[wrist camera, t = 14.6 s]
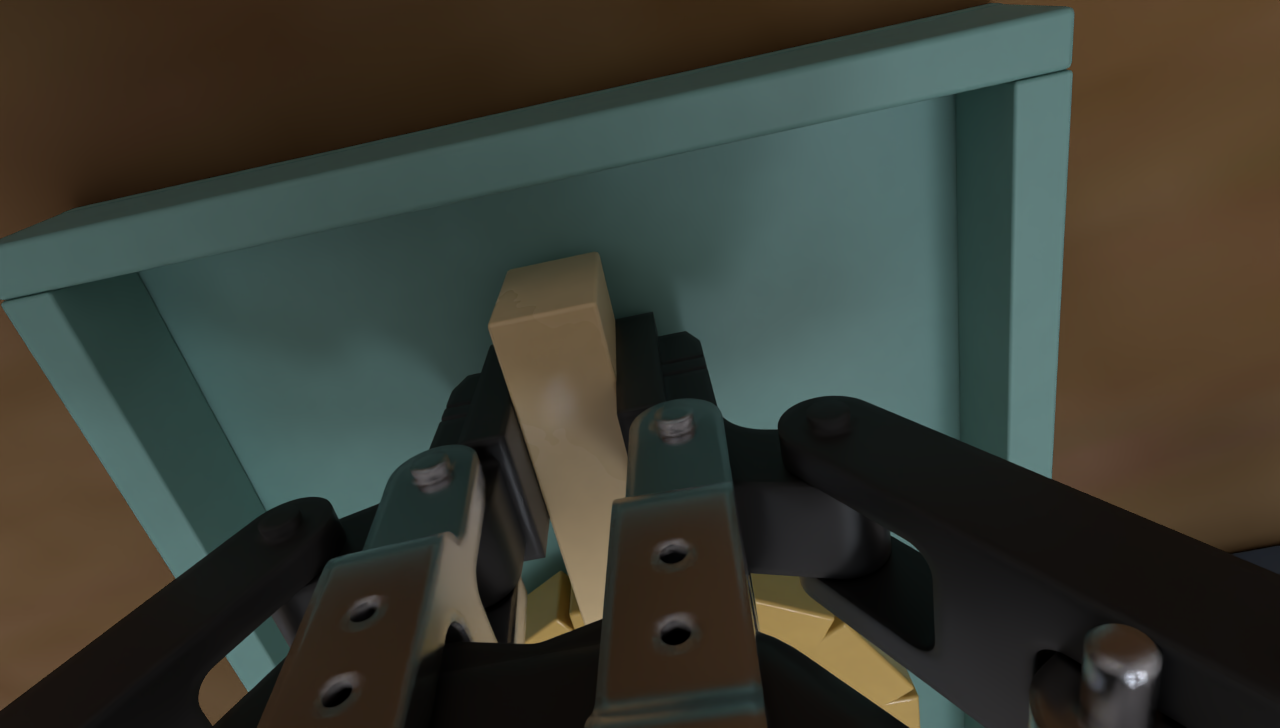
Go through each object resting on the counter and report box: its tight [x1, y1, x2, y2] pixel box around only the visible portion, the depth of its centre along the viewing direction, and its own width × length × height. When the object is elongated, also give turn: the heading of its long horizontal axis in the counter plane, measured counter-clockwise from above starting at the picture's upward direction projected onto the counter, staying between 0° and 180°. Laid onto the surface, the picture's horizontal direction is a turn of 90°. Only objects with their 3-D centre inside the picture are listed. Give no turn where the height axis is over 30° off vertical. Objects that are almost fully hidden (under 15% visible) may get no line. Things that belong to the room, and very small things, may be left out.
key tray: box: [0, 3, 1074, 728], centre depth 16 cm, size 22×16×2 cm
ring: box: [488, 252, 920, 728], centre depth 15 cm, size 17×11×2 cm, turn 12°
